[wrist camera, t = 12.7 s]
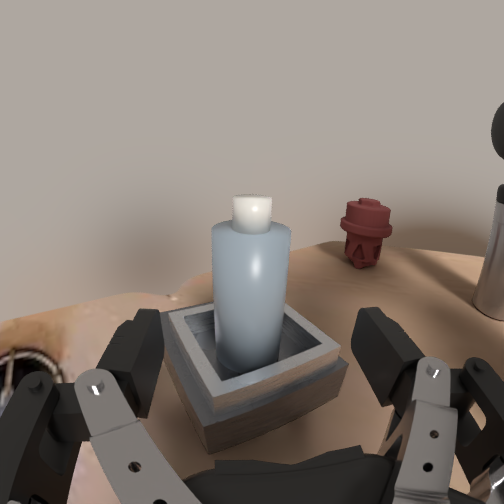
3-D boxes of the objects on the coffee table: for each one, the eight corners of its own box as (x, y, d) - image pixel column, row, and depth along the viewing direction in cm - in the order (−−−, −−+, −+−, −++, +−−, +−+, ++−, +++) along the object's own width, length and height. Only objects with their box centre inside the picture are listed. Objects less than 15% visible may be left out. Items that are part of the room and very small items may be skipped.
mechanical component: (361, 277, 44) (325, 257, 53) (394, 268, 48) (360, 251, 57) (372, 205, 40) (332, 194, 49) (405, 205, 44) (367, 195, 53)
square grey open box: (255, 318, 33) (257, 273, 31) (337, 395, 21) (354, 344, 19) (157, 342, 27) (148, 293, 25) (208, 454, 15) (200, 408, 13)
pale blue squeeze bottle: (258, 326, 24) (265, 190, 20) (291, 359, 20) (310, 203, 16) (206, 341, 22) (200, 194, 18) (233, 381, 18) (233, 208, 14)
